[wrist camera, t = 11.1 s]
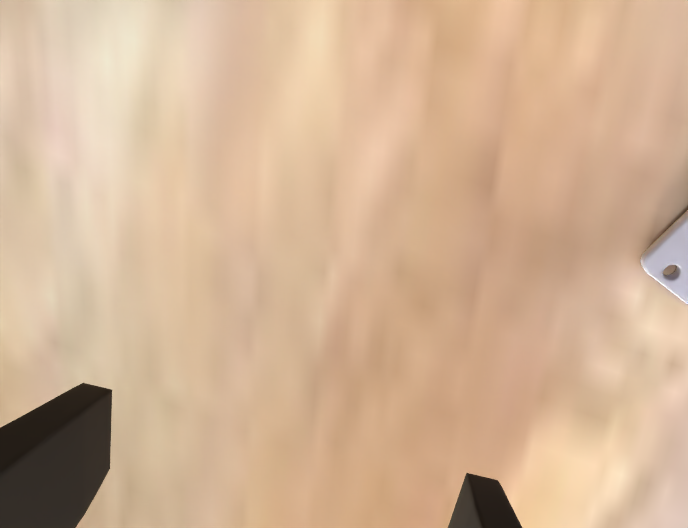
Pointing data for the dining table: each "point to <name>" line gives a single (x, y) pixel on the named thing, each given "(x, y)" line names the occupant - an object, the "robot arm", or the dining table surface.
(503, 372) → the dining table surface
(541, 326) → the dining table surface
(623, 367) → the dining table surface
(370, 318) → the dining table surface
